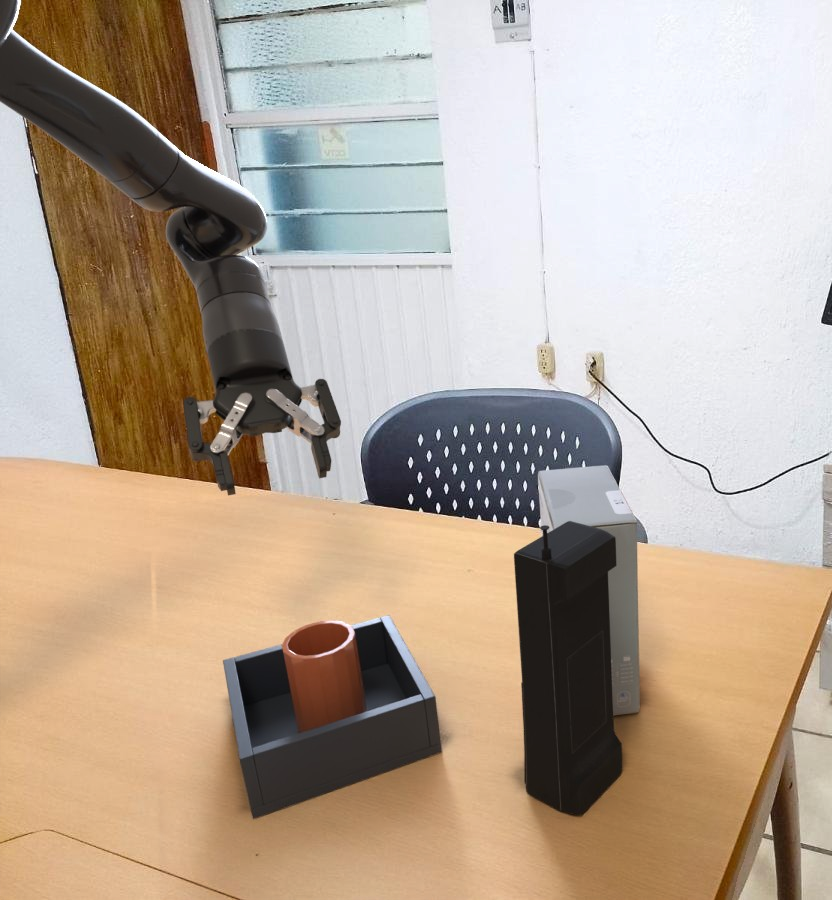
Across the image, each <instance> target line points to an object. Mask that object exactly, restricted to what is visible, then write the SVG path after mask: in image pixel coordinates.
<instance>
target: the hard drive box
mask: <svg viewBox="0 0 832 900" xmlns="http://www.w3.org/2000/svg"><path fill="white" fill-rule="evenodd" d="M537 482H538V483H537V485H538V497H539V498H538V499H539V513H540V515H539V517H540V527H541V526H544V525H547V526H549V529H548V530H547V533H549V532H550V531H552V530H554V529H556V528H557V527H559V526H561V525H562V524H564V523H566V522H568V521H573V522H576V523H580V524H584V525H588V526H591V527H595V528H599V529H602V530H604V531H606V532H608V533H610V534H611V535H613V536H614V537H615V538H616V565H617V566H615V567H614V568H613V569H611V570H610V571H608V586H609V614H610V642H611V670H612V698H613V717H614V716H620V715H628V714H636V713H639V712H640V711H641V705H640V704H641V703H640V702H641V699H640V698H641V696H640V695H641V693H640V691H641V690H640V686H641V685H640V683H641V681H640V636H639V635H640V633H639V632H640V631H639V629H640V628H639V583H638V582H639V580H638V579H639V578H638V577H639V576H638V575H639V572H638V570H639V569H638V524H639V523H638V520H637V518H636V517H635V515H634V512H633V511H632V509H631V507H630V505H629V502H628V501H627V500H626V497H625V496H624V494H623V492H622V491H621V488H620V487H619V485H618V483H617V481H616V479H615V477H614V475H613V474H612V472H611V470H610V467H609V466H608V465H592V466H579V467H567V468H557V469H545V470H539V471H538V473H537ZM540 530H541V529H540ZM540 532H541V533H540V534H541V537H542V536H543V530H541V531H540Z"/></svg>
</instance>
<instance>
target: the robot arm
mask: <svg viewBox="0 0 832 900" xmlns="http://www.w3.org/2000/svg"><path fill="white" fill-rule="evenodd" d="M20 6H21V0H0V103H1V104H3V105H4V106H6V107H7V108H9V109H10V110H11V111H13V112H15V113H16V114H18V115H19V116H21V117H22V118H23V119H25V120H27V121H28V122H30V124H32V125H34V126H35V127H37V128H38V129H40V130H41V131H42V132H44V133H45V134H46V135H48V136H49V137H51V138H52V139H54V140H55V141H57V142H58V143H59V144H60V145H62V147H64V148H66V150H68V151H69V152H71V153H72V154H74V155H75V156H76V157H78V158H79V159H80V160H81V161H82V162H84V163H85V164H87V165H88V166H89V167H90V168H92V169H93V170H94V171H95V172H96V173H98V174H99V175H100V176H102V178H104V179H106V181H108V182H109V183H110V184H111V185H112V186H114V187H116V188H117V189H118V190H119V191H120V192H121V193H123V194H124V195H125V196H127V197H128V198H129V199H130V200H131V201H132V202H134V203H135V204H137V205H138V206H139V207H141V208H143V209H144V210H147V211H148V212H152V213H161V212H162V213H163V212H168V211H171V210H174V211H173V212H172V213H171V214H170V215H169V217H168V218H167V222H166V225H165V238H166V241H167V243H168V245H169V247H170V248H171V251H173V253H174V255H175V256H176V258H177V259H178V261H179V262H180V264H181V265H182V268H183V269H184V271H185V272H186V274H187V276H188V278H189V279H190V281H191V284H192V285H193V286H194V289H195V292H196V297H197V302H198V307H199V310H200V311H199V312H200V316H201V321H202V322H201V323H202V337H203V341H204V350H205V353H206V355H207V359H208V363H209V368H210V372H211V377H212V382H213V386H214V391H215V395H214V397H213V399H210V400H201V401H197V398H195V397H193V396H187V397H185V398H184V399H183V402H182V404H183V411H184V412H183V413H184V421H185V429H186V436H187V445H188V449H189V454H190V458H191V460H192V461H194V462H195V463H196V462H203V461H207V462H210V463H211V464H212V466H213V468H214V474H215V478H216V483H217V487H218V489H219V490H220V492H224V491H226V492H227V496H234V495H236V494H237V493H236V486H235V482H234V477H233V473H232V468H231V463H230V459H229V455H230V453H231V451H232V450H233V448H236V447H237V445H238V443H240V440H241V438H242V437H243V435H245V436H249V438H253V437H258V436H261V435H263V434H277V433H282V432H283V430H284V429H287V430H288V431H289V432H291V433H292V434H294V435H295V436H297V437H301V438H303V439H304V440H306V441H307V442H308V443H310V444H311V445H310V450H311V454H312V457H313V462H314V465H315V469H316V473H317V476H318V477H317V478H318V479H323V478H327V475H328V472H331V469H332V456H331V453H330V449H329V446H328V441H329V440H331V439H337V438H339V437H340V435H341V425H342V420H341V418H340V417H341V416H340V414H339V412H338V409H337V405H336V403H335V401H334V398H333V395H332V391H331V390H330V386H329V384H328V381H327V380H326V379H324V378H317V379H316V380H315V382H314V384H309V385H306V386H305V385H304V386H301V387H300V386H299V385H298V384H297V383H296V381H295V380H294V378H293V373H292V370H291V365H290V363H289V362H290V361H289V359H288V355H287V351H286V348H285V347H286V346H285V344H284V343H285V342H284V340H283V335H282V332H281V327H280V325H279V322H278V319H277V316H276V314H275V312H274V310H273V308H272V303H271V300H270V295H269V292H268V289H267V284H266V281H265V278H264V277H265V276H264V274H263V272H262V270H261V268H260V266H259V265H258V264H257V263H256V262H255V261H254V260H252V259H251V258H249V257H247V256H243V255H240V253H243V252H244V251H245V252H246V250H248V249H250V248H252V247H254V246H255V245H257V244H258V243H259V242H261V241H262V240H263V239H264V238H265V237H266V235H267V231H268V220H267V217H266V216H267V215H266V213H265V211H264V208H263V207H262V205H261V204H260V202H259V201H258V200H257V199H256V198H255V196H254V195H252V193H250V192H249V191H248V190H247V189H246V188H244V186H243V187H242V186H241V185H240V184H238V183H237V182H235V181H233V180H231V179H230V178H227V177H226V176H224V175H221V174H220V173H218V172H216V171H214V170H213V169H210V168H208V167H207V166H204V164H201V163H199V162H198V161H196V160H194V159H192V158H190V157H189V156H187V155H185V154H184V153H183V152H182V151H181V150H179V149H178V147H177V146H175V145H174V144H173V143H172V142H171V141H170V140H168V139H167V138H166V137H165V136H164V135H163V134H162V133H161V132H160V131H159V130H158V129H156V127H154V126H153V125H152V124H151V123H150V122H149V121H147V119H145V118H144V117H143V116H141V115H140V114H139V113H138V112H136V111H135V110H134V109H133V108H131V106H129V105H127V104H126V103H125V102H123V101H121V100H120V99H118V98H117V97H115V96H113V94H111V93H109V92H107V91H105V90H104V89H102V88H100V87H98V86H96V85H95V84H93V83H92V82H90V81H88V80H86V79H84V78H83V77H81V76H80V75H78V74H76V73H75V72H73V71H71V70H69V69H68V68H66V67H64V66H63V65H61V64H60V63H58V62H57V61H55V60H53V58H50V57H49V56H48V55H47V54H45V53H44V52H42V51H40V49H38V48H36V47H35V46H34V45H32V44H31V43H30V42H28V41H27V40H26V39H25V38H23V37H22V36H21V35H19V34H18V33H17V31H15V30H14V29H13V27H14V26H15V23H16V21H17V19H18V15H19V10H20ZM175 209H176V210H175ZM303 400H306V401H309V403H310V404H311V406H314V407H318V410H319V412H320V415H321V418H322V422H323V423H322V424H320V423H319V422H317V421H316V420H315V419H313V418H311V417H310V416H309V414H308V412H307V411H305V410H304V409H303V408H301V407H300V406H301V404H302V402H303ZM214 413H215V414H216V416H217V417H219V418H220V419H221V420H223V422H222V423H221V425H220V428H219V430H218V433H217V434H216V435H215V437H214V439H213V441H212V442H204V441H203V432H202V425H205V424H206V423H208V421H209V417H210V415H211V414H214Z"/></svg>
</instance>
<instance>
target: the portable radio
mask: <svg viewBox="0 0 832 900" xmlns="http://www.w3.org/2000/svg"><path fill="white" fill-rule="evenodd" d="M539 529H540V530H543V536H542V535H541V536H540V537H538V538H537V539H534V541H532V542H530V543H528V544H526V545H525V546H523V547H521V548H520V549H518V550H516V551H515V552H514V553H513V565H514V579H515V581H514V582H515V595H516V610H517V623H518V624H517V625H518V627H517V628H518V640H519V642H518V643H519V656H520V668H521V669H520V671H521V684H520V685H521V687H520V688H521V705H522V706H521V707H522V723H523V724H522V727H523V753H524V754H523V760H524V761H523V762H524V763H523V768H524V769H523V772H524V773H523V776H524V777H523V779H524V784H525V792H526V794H527V795H528V796H530V797H531V798H533V799H536V800H538V801H540V802H541V803H543V804H546V805H547V806H549V807H551V808H553V809H555V810H557V811H559V812H562V813H565V814H568V815H575V816H583V815H584V814H585V813H586V812H587V811H588V810H589V809H590V808H591V807H592V806H593V804H595V803H596V802H597V801H598V799H600V797H601V796H602V795H604V793H605V792H606V791H607V790H608V789H609V788H610V787H611V786H612V784H613V783H615V781H616V780H618V778H619V777H621V775H622V773H623V744H622V742H621V740H620V738H619V737H618V735H617V733H616V731H615V724H614V716H613V698H612V670H611V642H610V614H609V586H608V571H610V570H611V569H613V568H614V567H615V566H617V565H616V538H615V537H614V536H613V535H611V534H610V533H608V532H606V531H604V530H602V529H599V528H595V527H591V526H588V525H584V524H580V523H576V522H573V521H568V522H566V523H564V524H562V525H561V526H559V527H557V528H556V529H554V530H552V531H550V532H549V533H547V530H548V529H549V526H547V525H544V526H541V525H540V526H539Z"/></svg>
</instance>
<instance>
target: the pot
mask: <svg viewBox="0 0 832 900" xmlns="http://www.w3.org/2000/svg"><path fill="white" fill-rule="evenodd" d="M350 625H351V624H350V623H349V624H348V623H347V622H345V621H339V620H320V621H316V622H312V623H308V624H305V625H303V626H301V627H299V628H297V629H294V630H293V631H291V632H290V633H289V634H288V635H287V636H286V637H285V638H284V639H283V642H282V643H281V644H282V651H283V656H284V661H285V666H286V672H287V677H288V682H289V687H290V693H291V698H292V703H293V708H294V714H295V719H296V724H297V728H298V733H301V732H304V731H308V730H311V729H314V728H317V727H320V726H323V725H326V724H329V723H333V722H336V721H339V720H342V719H345V718H348V717H351V716H354V715H358V714H361V713H364V712H367V707H366V701H365V694H364V688H363V681H362V675H361V668H360V662H359V656H358V649H357V643H356V636H355V632H354V630H353V627H352V626H350Z"/></svg>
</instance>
